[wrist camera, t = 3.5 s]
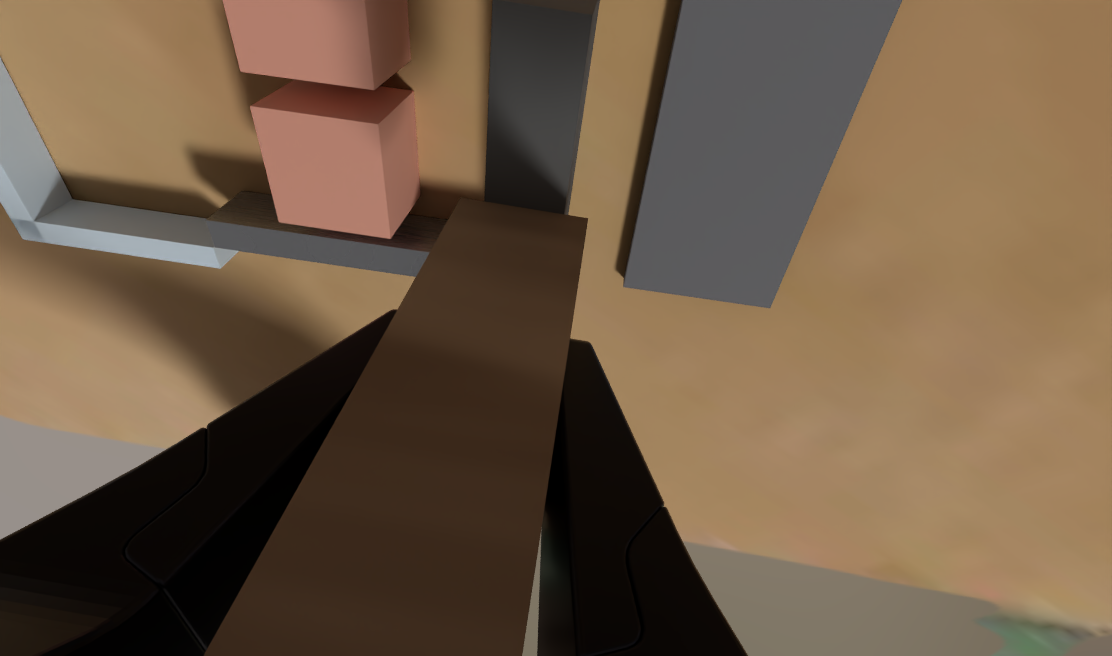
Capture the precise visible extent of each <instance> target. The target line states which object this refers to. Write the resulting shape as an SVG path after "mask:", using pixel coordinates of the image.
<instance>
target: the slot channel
mask: <svg viewBox="0 0 1112 656" xmlns="http://www.w3.org/2000/svg"><path fill="white" fill-rule="evenodd" d="M205 221H206V223H207V226H208V229H209V232H210V235H211V238H212V241H213V243H214V246H215V248H222V249H229V250H236V251H243V252H249V253H256V254H263V255H270V256H277V257H284V258H290V259H297V260H304V261H311V262H318V263H325V264H332V265H338V266H345V267H352V268H359V269H366V270H373V271H380V272H386V273H393V274H400V275H407V276H414V277H416V276H417V274H418V273H419V271H420V269H421V267H422V265H423V264H424V262H425V260H426V258H427V257H428V255H429V253H430V251H431V249H432V248H433V246H434V244H435V242H436V240H437V239H438V237H439V235H440V233H441V232H442V230H443V228H444V226H445V224H446V223H447V221H448V220H445V219H438V218H431V217H424V216H417V215H410V214H407V216H406V217H405V219H404V220H403V222H402V223H401V225H400V226H399V227H398V229H397V230H396V232H395V233H394V235H393V236H392V238H391V239H388V238H381V237H374V236H368V235H361V234H354V233H347V232H341V231H334V230H327V229H321V228H314V227H307V226H301V225H294V224H287V223H280V222H279V221H278V217H277V213H276V209H275V205H274V201H273V197H272V195H269V194H262V193H255V192H248V191H241V192H240V193H239V194H237V195H236V196H235V197H234V198H232V199H231V200H230V201H229V202H227V203H226V204H225V205H224V206H222V207H221V208H220V209H219V210H217V211H216V212H215V213H214V214H212V215H211V216H210V217H209V218H207V219H206V220H205Z"/></svg>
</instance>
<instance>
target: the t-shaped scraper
mask: <svg viewBox="0 0 1112 656" xmlns="http://www.w3.org/2000/svg"><path fill="white" fill-rule="evenodd" d="M599 3H600V0H493V3H492V28H491V53H490V77H489V102H488V126H487V151H486V176H485V200H484V201H479V200H473V199H467V198H460V199H459V201H458V203H457V205H456V207H455V208H454V210H453V212H452V214H451V216H450V217H449V219H448V221H447V223H446V224H445V226H444V228H443V230H442V232H441V233H440V235H439V237H438V239H437V240H436V242H435V244H434V246H433V248H432V249H431V251H430V253H429V255H428V257H427V258H426V260H425V262H424V264H423V265H422V267H421V269H420V271H419V273H418V274H417V276H416V278H415V280H414V281H413V283H412V285H411V287H410V289H409V290H408V292H407V294H406V296H405V298H404V299H403V301H402V303H401V305H400V306H399V308H398V310H397V312H396V314H395V315H394V317H393V319H392V321H391V322H390V324H389V326H388V328H387V330H386V331H385V333H384V335H383V337H382V338H381V340H380V342H379V344H378V346H377V347H376V349H375V351H374V353H373V355H372V356H371V358H370V360H369V362H368V363H367V365H366V367H365V369H364V371H363V372H362V374H361V376H360V378H359V379H358V381H357V383H356V385H355V387H354V388H353V390H352V392H351V394H350V396H349V397H348V399H347V401H346V403H345V404H344V406H343V408H342V410H341V412H340V413H339V415H338V417H337V419H336V420H335V422H334V424H333V426H332V428H331V429H330V431H329V433H328V435H327V437H326V438H325V440H324V442H323V444H322V445H321V447H320V449H319V451H318V453H317V454H316V456H315V458H314V460H313V461H312V463H311V465H310V467H309V469H308V470H307V472H306V474H305V476H304V477H303V479H302V481H301V483H300V485H299V486H298V488H297V490H296V492H295V494H294V495H293V497H292V499H291V501H290V502H289V504H288V506H287V508H286V510H285V511H284V513H283V515H282V517H281V518H280V520H279V522H278V524H277V526H276V527H275V529H274V531H273V533H272V535H271V536H270V538H269V540H268V542H267V543H266V545H265V547H264V549H263V551H262V552H261V554H260V556H259V558H258V559H257V561H256V563H255V565H254V567H253V568H252V570H251V572H250V574H249V576H248V577H247V579H246V581H245V583H244V584H243V586H242V588H241V590H240V592H239V593H238V595H237V597H236V599H235V600H234V602H233V604H232V606H231V608H230V609H229V611H228V613H227V615H226V616H225V618H224V620H223V622H222V624H221V625H220V627H219V629H218V631H217V633H216V634H215V636H214V638H213V640H212V641H211V643H210V645H209V647H208V649H207V650H206V652H205V654H204V656H522V653H523V646H524V639H525V633H526V626H527V620H528V612H529V606H530V599H531V593H532V586H533V580H534V573H535V567H536V560H537V553H538V547H539V540H540V533H541V527H542V520H543V514H544V507H545V500H546V494H547V487H548V480H549V474H550V467H551V461H552V454H553V447H554V441H555V434H556V428H557V421H558V414H559V408H560V401H561V394H562V388H563V381H564V375H565V368H566V361H567V355H568V348H569V341H570V335H571V328H572V322H573V315H574V308H575V302H576V295H577V289H578V282H579V275H580V269H581V262H582V255H583V249H584V242H585V236H586V229H587V222H588V218H582V217H576V216H570V215H568V212H569V205H570V199H571V192H572V185H573V178H574V172H575V165H576V158H577V151H578V145H579V138H580V131H581V124H582V118H583V111H584V104H585V97H586V90H587V84H588V77H589V70H590V63H591V57H592V50H593V43H594V36H595V30H596V23H597V16H598V9H599Z"/></svg>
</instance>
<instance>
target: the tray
mask: <svg viewBox="0 0 1112 656" xmlns="http://www.w3.org/2000/svg"><path fill="white" fill-rule="evenodd" d="M0 202H1V204H2V205H3V207H4V209H5V210H6V212H7V214H8V215H9V217H10V219H11V220H12V222H13V224H14V225H15V227H16V229H17V230H18V232H19V234H20V235H21V237H22V239H23V240H30V241H37V242H44V243H50V244H57V245H64V246H71V247H78V248H84V249H91V250H98V251H105V252H112V253H118V254H125V255H132V256H139V257H146V258H152V259H159V260H166V261H173V262H180V263H186V264H193V265H200V266H207V267H213V268H220V269H221V268H222V267H223V266H224V265H225V264H226V263H227V262H228V261H229V260H230V259H231V258H232V257H233V256H234V255H235V254H236V253H238V252H239V251H236V250H229V249H222V248H215V246H214V243H213V241H212V238H211V235H210V232H209V229H208V226H207V223H206V221H205V220H206V218H199V217H192V216H185V215H178V214H172V213H165V212H158V211H151V210H144V209H137V208H130V207H123V206H116V205H109V204H102V203H95V202H88V201H81V200H75V199H72V197H71V195H70V193H69V191H68V189H67V187H66V185H65V183H64V181H63V180H62V178H61V176H60V174H59V172H58V170H57V168H56V166H55V164H54V162H53V160H52V158H51V156H50V154H49V152H48V150H47V148H46V146H45V144H44V142H43V140H42V138H41V136H40V134H39V132H38V130H37V128H36V126H35V125H34V123H33V121H32V119H31V117H30V115H29V113H28V111H27V109H26V107H25V105H24V103H23V101H22V99H21V97H20V95H19V93H18V91H17V89H16V87H15V85H14V83H13V81H12V79H11V77H10V75H9V73H8V72H7V70H6V68H5V66H4V64H3V62H2V60H1V58H0Z"/></svg>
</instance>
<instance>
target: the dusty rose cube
mask: <svg viewBox="0 0 1112 656" xmlns="http://www.w3.org/2000/svg"><path fill="white" fill-rule="evenodd" d="M223 4H224V8H225V12H226V16H227V20H228V24H229V28H230V32H231V36H232V40H233V44H234V48H235V52H236V56H237V60H238V64H239V68H240V71H241V72H246V73H254V74H261V75H268V76H275V77H282V78H290V79H297V80H304V81H311V82H319V83H326V84H333V85H340V86H347V87H355V88H362V89H369V90H375V89H376V88H378V87H379V86H380V85H381V84H383V83H384V82H385V81H386V80H387V79H389V78H390V77H391V76H392V75H393V74H395V73H396V72H397V71H398V70H400V69H401V68H402V67H403V66H404V65H406V64H407V63H408V62H409V61H411V52H410V36H409V21H408V6H407V0H223Z"/></svg>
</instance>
